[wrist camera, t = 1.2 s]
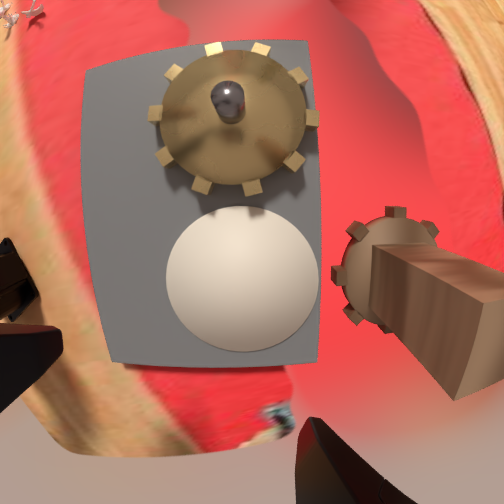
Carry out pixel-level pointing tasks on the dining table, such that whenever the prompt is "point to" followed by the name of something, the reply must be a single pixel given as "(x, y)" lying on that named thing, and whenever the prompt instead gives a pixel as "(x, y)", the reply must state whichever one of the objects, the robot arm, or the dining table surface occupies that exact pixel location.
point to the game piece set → (13, 19)
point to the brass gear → (233, 118)
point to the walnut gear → (426, 299)
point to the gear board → (195, 232)
